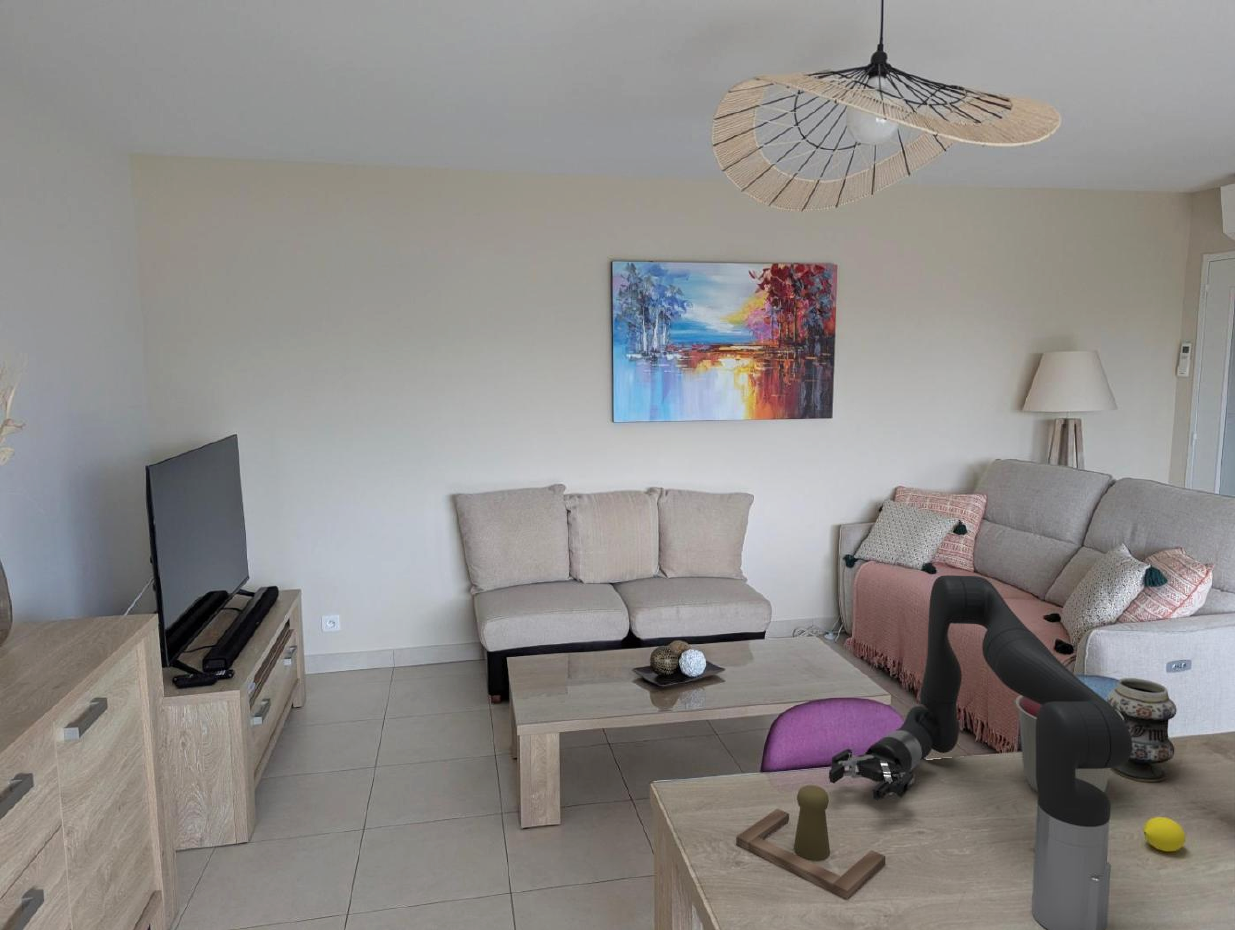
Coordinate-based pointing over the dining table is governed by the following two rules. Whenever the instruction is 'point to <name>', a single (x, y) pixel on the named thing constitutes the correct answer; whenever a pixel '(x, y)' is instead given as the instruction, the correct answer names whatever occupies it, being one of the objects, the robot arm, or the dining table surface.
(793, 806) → the dining table surface
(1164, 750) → the apothecary jar
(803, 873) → the walnut cradle
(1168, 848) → the lemon
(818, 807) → the cork
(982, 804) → the dining table surface
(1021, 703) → the canister
